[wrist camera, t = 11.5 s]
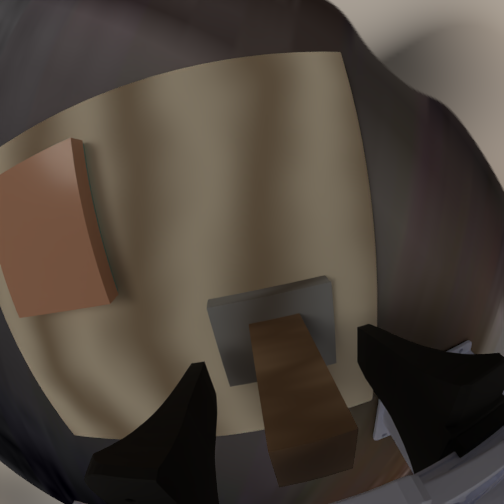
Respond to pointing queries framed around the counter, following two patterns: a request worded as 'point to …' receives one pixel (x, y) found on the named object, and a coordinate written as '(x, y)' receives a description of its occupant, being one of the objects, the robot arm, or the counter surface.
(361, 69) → the counter surface
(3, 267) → the tile
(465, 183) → the counter surface
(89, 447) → the counter surface
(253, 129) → the board
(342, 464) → the wooden post on base
